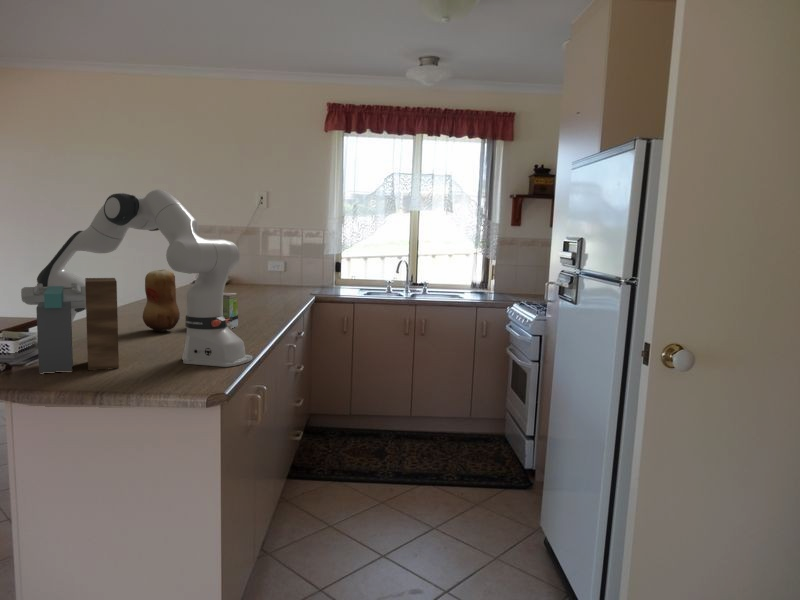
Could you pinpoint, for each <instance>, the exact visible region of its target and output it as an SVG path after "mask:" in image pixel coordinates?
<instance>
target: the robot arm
mask: <svg viewBox="0 0 800 600" xmlns="http://www.w3.org/2000/svg"><path fill="white" fill-rule="evenodd" d="M129 229H134V230H138V231H139V230H143V231H151V232H154V231H159V232H160V233H161V234H162V235H163V236H164V238H165V239H166V240H167V242H168V244H169V245H168V247H167V250H166V254H165V256H166V262H167V265H168V266H169V267H170V269H171V270H173V271H174V272H178V273H182V274H198V277H197V279H196V281H195V282H194V284H193V285H192V286H190V287H189V288H188V290H187V291H186V292H187V293H186V315H185V320H184V323H185V325H184V326H185V327H186V328H185V329H186V334H185V342H184V343H185V344H184V349H183V354H182V356H181V360H183V361H182V363H183V364H184V365H185V364H187V365H197V366H198V365H199V366H211V367H220V368H221V367H222V368H229V367H234V366H239V365H243V364H245V363H248V362H250V361H252V360H253V355H250V354H246V347H245V342H244V341H243V340H242V338H240V337H239V336H238V334H236V333H234V332H233V331H231V330H232V329H231V330H230V329H229V328H228V327H227V326H228V325H227V322H230V321H228V320H229V319H230V318H229V319H225V317H224V315H223V293H225V287H226V283H227V281H228V278H229V276H230V274H231V272H233V271H232V270H234V269H235V268H236V267H237V265H238V263H239V261H240V257H241V256H240V250H239V248H238V246H237V244H236V243H235V242H233V241H231V240H228V239H223V238H212V237H211V238H205V237H202V236H200V235H198V231H199V223H198V220H197V219H196V218H195V217H194V216H193V215H192V214H191V212H190V211H189V210H188V209H187V208H186V207H185V205H183V204H182V203H181V202H180V201H179V200H178V198H176V197H175V196H174V195H172V194H171V193H169V192H168V191H166V190H164V189H153V190H150V191H149V192H148V193H147V194H146V195H145V197H142V196H139V195H133V194H129V193H123V192H122V193H121V192H120V193H113V194H110V195H109V196H108V197H107V198H106V200H105V202H104V203H103V205H102V206H101V208H100V209H99V210H98V211H97V213H96V214H95V216H94V217H93V220H92V221H91V223H90V225H89V226H88V227H87V228H86V229H84V230H78V231H76V232H74V233H73V234H72V235H70V237H69V238H68V239H67V240H66V242H65V243H64V244H63V245H62V247H60V249H59V250H58V251H57V253H56V254H55V255H54V256H53V258H52V259H51V260H50V261H49V262H48V263H47V265H46V266H45V267H44V268H42V269H41V271H40V272H39V273H38V275H37V277H36V282H37V284H36V285H35V286H24V287H22V288H21V289H20V290H21V291H20V293H21V295H20V296H21V301H22V303H25V304H26V305H29V306H38V304H39V302H44V293H45V291H46V289H47V287H48V286H63V290H64V300H63V301H71V319H72V322H73V321H74V319H75V317H76V315H77V314H78V313H81V312H83V311H84V310H85V311H86V289H85V279H84V278H82V277H81V276H78V275H77V274H74V273H73V272H70V271H69V270H67V269H66V265H67V264H68V263H69V261H70V260H71V259H72V258H73V256H74V255H75V253H77V252H88V253H92V254H93V253H94V254H109V253H111V252H112V253H113V252H114V251H116V250H117V249H118V248H119V246H120V245H121V243H122V242H123V240H124V238H125V236H126V234H127V232H128V230H129Z"/></svg>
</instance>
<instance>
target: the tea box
mask: <svg viewBox="0 0 800 600" xmlns="http://www.w3.org/2000/svg"><path fill="white" fill-rule="evenodd" d="M223 315H224V317H225V319H229V318H230V319H229V320H228V321H230V322H227V323H229V324H231V325H232V326H230V327H231V330H232V328H233V329H235V328H237V327H238V326H239V293H238V292H223ZM234 327H235V328H234Z"/></svg>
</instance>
